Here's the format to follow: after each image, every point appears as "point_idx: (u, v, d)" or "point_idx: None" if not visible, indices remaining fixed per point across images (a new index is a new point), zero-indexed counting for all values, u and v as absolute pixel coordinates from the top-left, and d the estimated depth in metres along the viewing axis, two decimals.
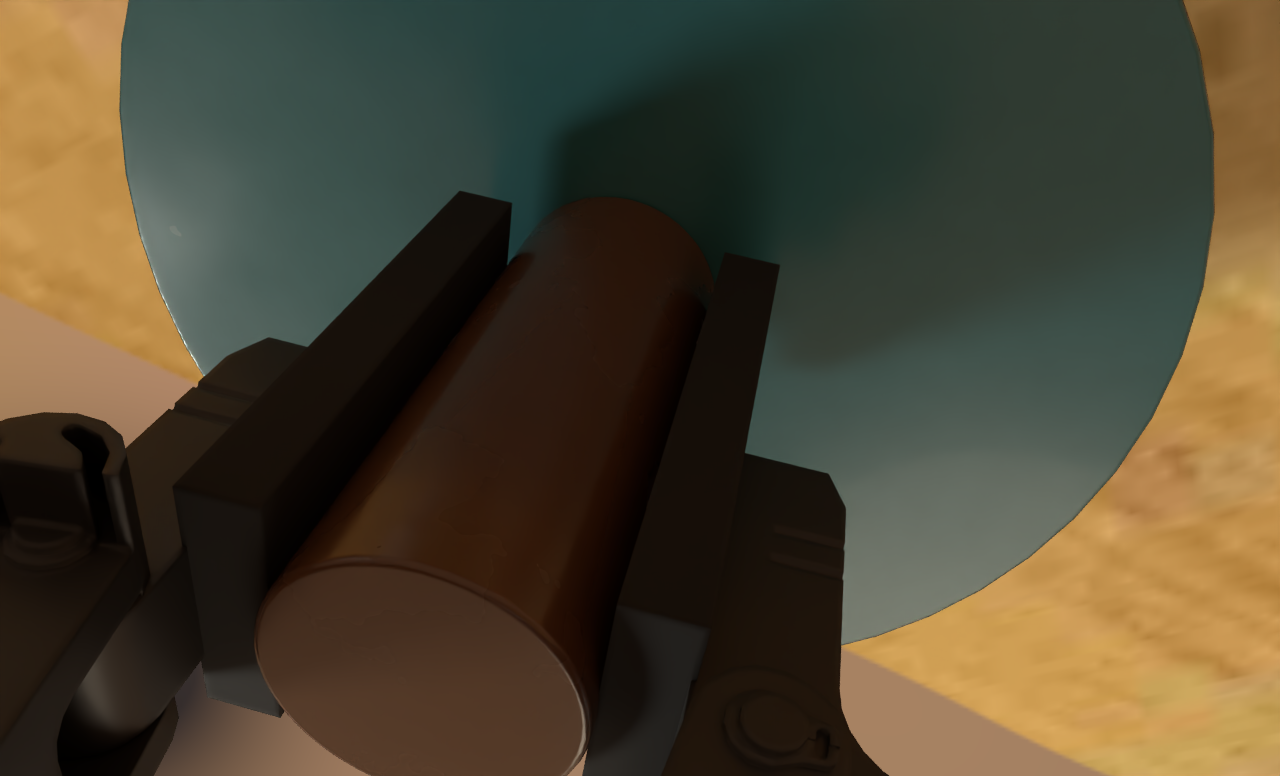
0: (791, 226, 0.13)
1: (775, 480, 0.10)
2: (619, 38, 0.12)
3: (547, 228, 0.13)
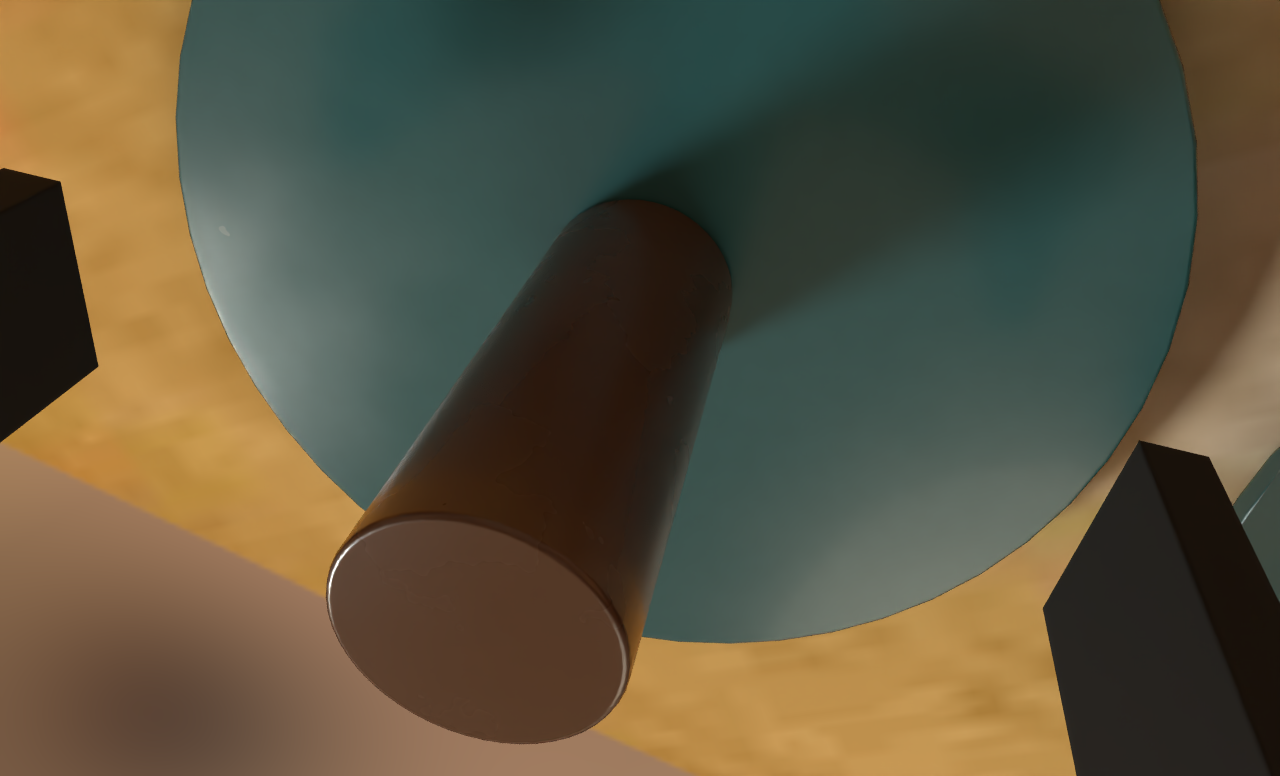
0: (805, 227, 0.14)
1: None
2: (646, 52, 0.13)
3: (577, 228, 0.14)
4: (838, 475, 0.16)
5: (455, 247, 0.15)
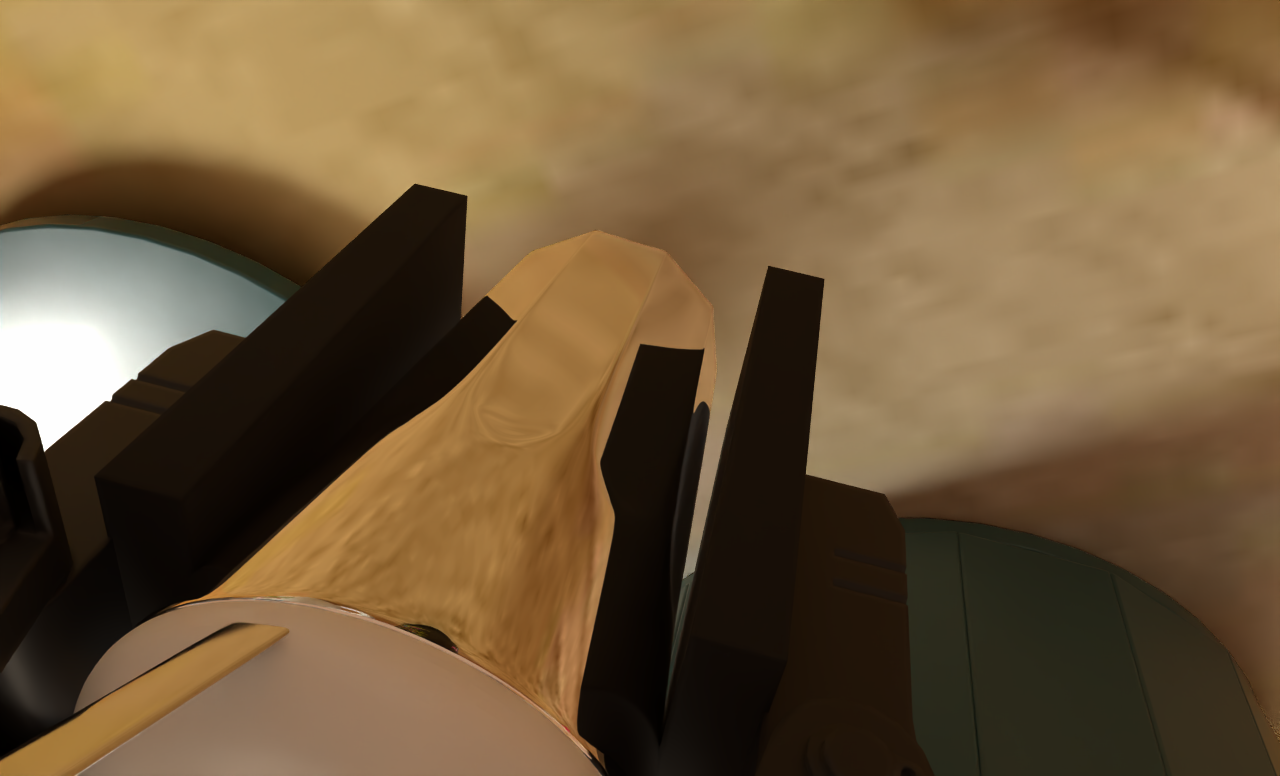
0: None
1: (832, 501, 0.10)
2: None
3: None
4: None
5: None
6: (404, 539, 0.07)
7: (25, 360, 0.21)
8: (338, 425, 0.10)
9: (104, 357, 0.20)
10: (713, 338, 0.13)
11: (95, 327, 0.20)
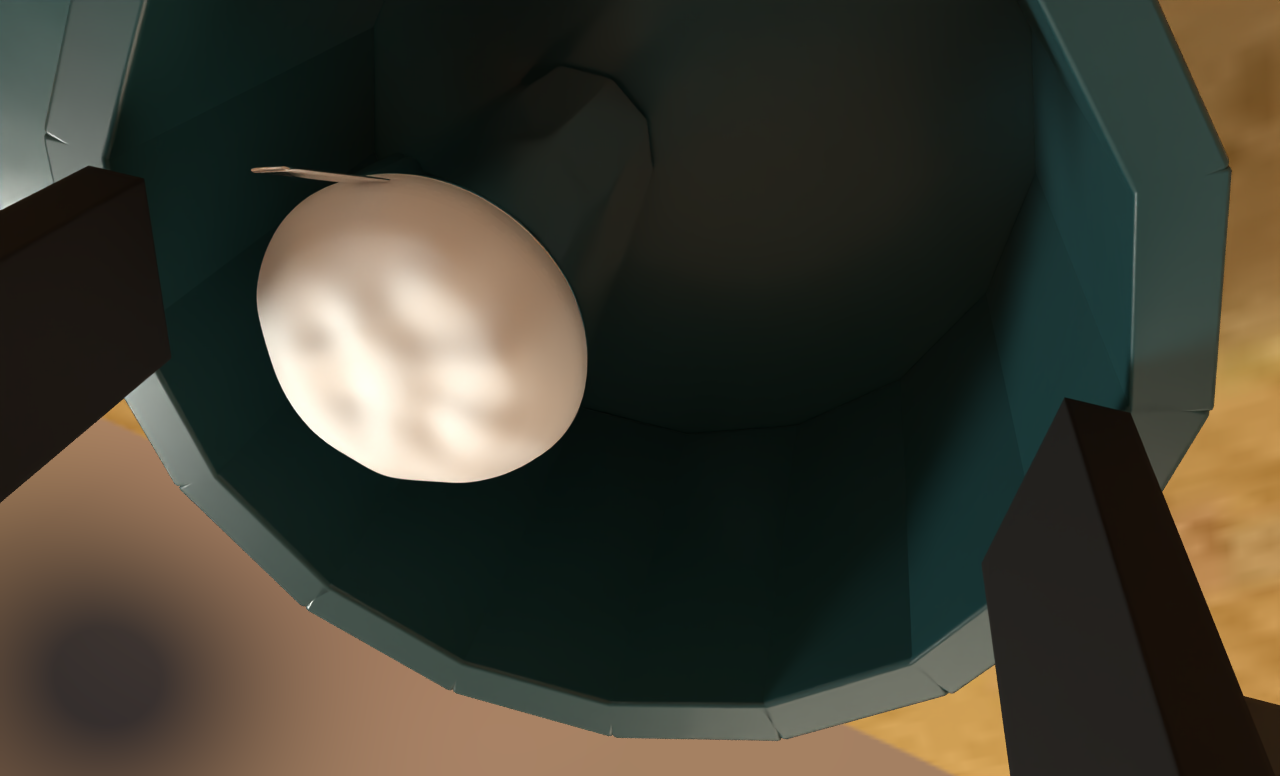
0: None
1: None
2: None
3: None
4: (23, 56, 0.20)
5: None
6: (447, 159, 0.12)
7: None
8: None
9: None
10: (647, 141, 0.19)
11: None
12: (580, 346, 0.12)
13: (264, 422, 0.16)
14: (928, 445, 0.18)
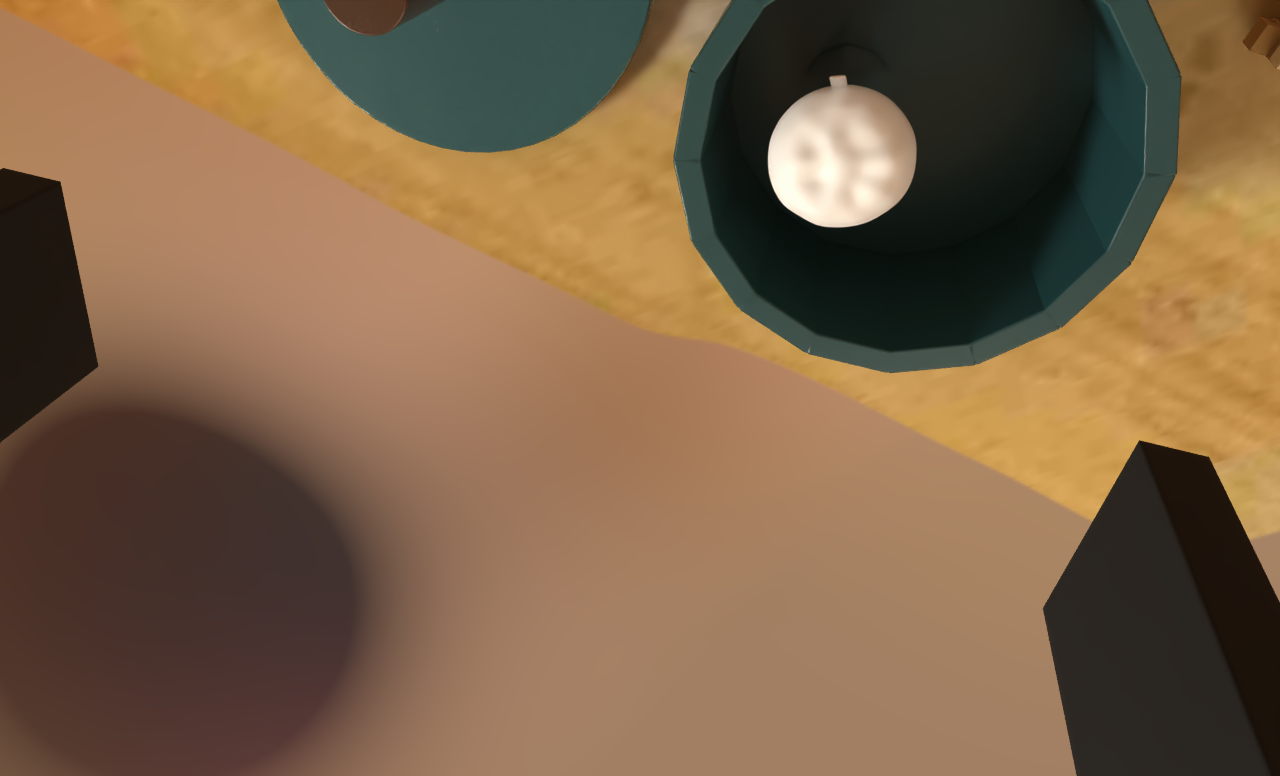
0: None
1: None
2: None
3: None
4: (543, 40, 0.37)
5: None
6: (857, 80, 0.29)
7: None
8: None
9: None
10: None
11: None
12: None
13: (721, 217, 0.33)
14: (1038, 236, 0.35)
